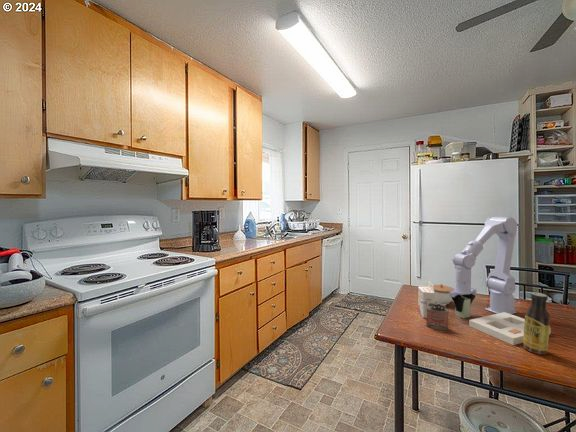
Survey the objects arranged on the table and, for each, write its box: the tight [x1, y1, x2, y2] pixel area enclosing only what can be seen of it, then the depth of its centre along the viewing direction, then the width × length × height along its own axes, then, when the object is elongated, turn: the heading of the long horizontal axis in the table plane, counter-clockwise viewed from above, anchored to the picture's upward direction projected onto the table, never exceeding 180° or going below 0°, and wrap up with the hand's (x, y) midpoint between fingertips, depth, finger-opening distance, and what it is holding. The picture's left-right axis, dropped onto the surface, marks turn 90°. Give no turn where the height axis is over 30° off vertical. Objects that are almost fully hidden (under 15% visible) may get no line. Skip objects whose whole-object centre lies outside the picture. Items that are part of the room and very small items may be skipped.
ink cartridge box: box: [417, 280, 436, 319], centre depth 121 cm, size 9×5×15 cm, turn 168°
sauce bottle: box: [522, 291, 551, 356], centre depth 90 cm, size 7×6×20 cm
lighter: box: [425, 303, 450, 331], centre depth 108 cm, size 8×3×10 cm, turn 71°
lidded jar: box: [431, 284, 454, 306], centre depth 135 cm, size 11×11×9 cm
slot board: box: [468, 312, 552, 346], centre depth 106 cm, size 22×16×3 cm
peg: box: [454, 296, 471, 319], centre depth 119 cm, size 4×4×8 cm
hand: (462, 310), depth 119 cm, fingers closed on peg, 4 cm apart
